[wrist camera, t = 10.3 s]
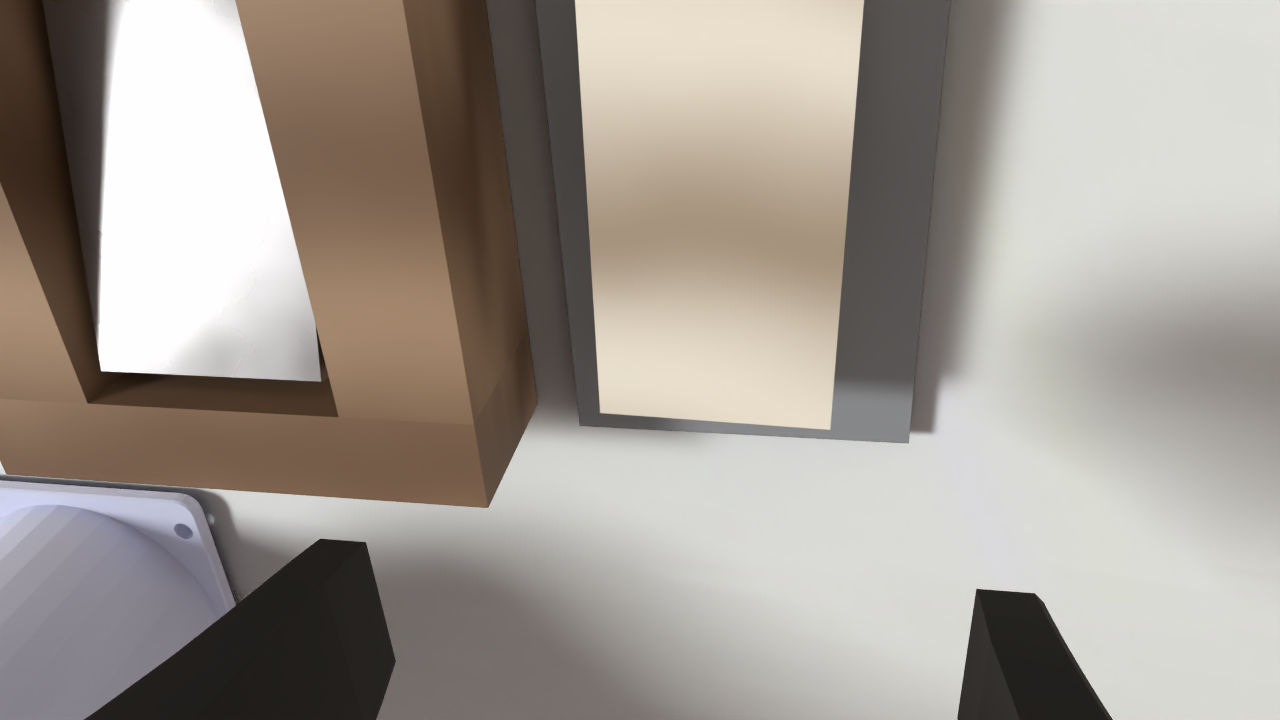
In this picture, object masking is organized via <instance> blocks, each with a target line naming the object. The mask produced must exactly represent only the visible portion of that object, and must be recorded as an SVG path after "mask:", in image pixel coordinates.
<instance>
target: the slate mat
mask: <svg viewBox="0 0 1280 720" xmlns="http://www.w3.org/2000/svg"><path fill="white" fill-rule="evenodd" d="M535 4H536V13H537V23H538V32H539V42H540V51H541V61H542V71H543V80H544V90H545V99H546V109H547V118H548V128H549V137H550V147H551V156H552V166H553V175H554V185H555V195H556V204H557V214H558V223H559V233H560V242H561V252H562V261H563V271H564V280H565V290H566V299H567V309H568V318H569V328H570V338H571V347H572V357H573V366H574V376H575V385H576V395H577V404H578V414H579V423H580V426H592V427H611V428H630V429H648V430H667V431H686V432H704V433H723V434H742V435H760V436H779V437H797V438H816V439H835V440H853V441H872V442H891V443H909V434H910V423H911V412H912V402H913V391H914V380H915V370H916V359H917V349H918V338H919V327H920V317H921V306H922V295H923V285H924V274H925V263H926V253H927V242H928V232H929V221H930V210H931V200H932V189H933V178H934V168H935V157H936V147H937V136H938V125H939V115H940V104H941V93H942V83H943V72H944V61H945V51H946V40H947V30H948V19H949V8H950V0H864V7H863V20H862V32H861V45H860V58H859V71H858V83H857V96H856V109H855V121H854V134H853V147H852V159H851V172H850V185H849V198H848V210H847V223H846V236H845V248H844V261H843V274H842V286H841V299H840V312H839V325H838V337H837V350H836V363H835V375H834V388H833V401H832V414H831V426H830V430H825V429H812V428H798V427H784V426H771V425H757V424H743V423H730V422H716V421H703V420H689V419H675V418H662V417H648V416H635V415H621V414H607V413H600V402H599V386H598V369H597V353H596V337H595V320H594V304H593V287H592V271H591V255H590V238H589V222H588V205H587V189H586V173H585V156H584V140H583V123H582V107H581V91H580V74H579V58H578V41H577V25H576V9H575V0H535Z"/></svg>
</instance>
